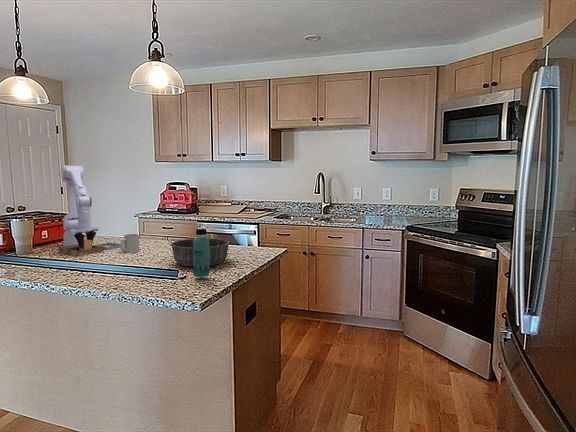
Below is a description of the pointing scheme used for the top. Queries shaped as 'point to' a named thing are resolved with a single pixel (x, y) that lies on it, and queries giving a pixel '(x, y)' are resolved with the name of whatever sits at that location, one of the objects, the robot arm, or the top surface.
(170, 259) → the top surface
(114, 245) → the dump tray
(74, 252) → the wooden pallet
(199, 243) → the beverage bottle
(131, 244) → the cup
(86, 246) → the stone block
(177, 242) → the bundt pan
